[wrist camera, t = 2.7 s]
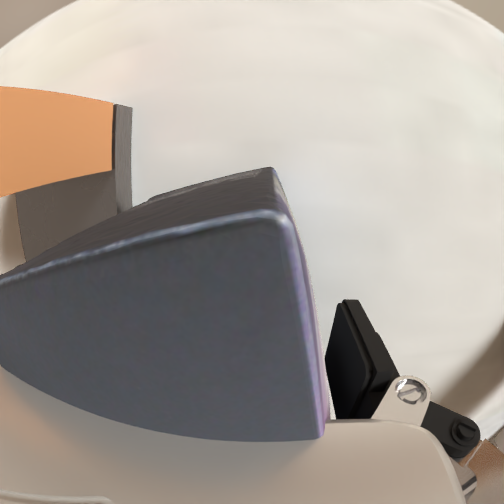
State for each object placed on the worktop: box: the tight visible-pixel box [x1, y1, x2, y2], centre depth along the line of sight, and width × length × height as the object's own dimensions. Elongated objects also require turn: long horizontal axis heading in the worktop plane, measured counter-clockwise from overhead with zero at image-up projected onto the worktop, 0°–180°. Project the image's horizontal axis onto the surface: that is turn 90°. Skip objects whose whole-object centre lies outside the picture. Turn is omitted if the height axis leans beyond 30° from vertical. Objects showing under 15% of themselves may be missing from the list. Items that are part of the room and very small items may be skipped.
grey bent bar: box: [16, 104, 132, 262], centre depth 10 cm, size 8×18×10 cm, turn 177°
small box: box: [0, 167, 330, 442], centre depth 9 cm, size 11×6×10 cm, turn 13°
